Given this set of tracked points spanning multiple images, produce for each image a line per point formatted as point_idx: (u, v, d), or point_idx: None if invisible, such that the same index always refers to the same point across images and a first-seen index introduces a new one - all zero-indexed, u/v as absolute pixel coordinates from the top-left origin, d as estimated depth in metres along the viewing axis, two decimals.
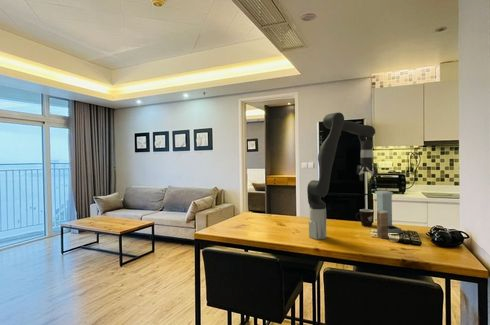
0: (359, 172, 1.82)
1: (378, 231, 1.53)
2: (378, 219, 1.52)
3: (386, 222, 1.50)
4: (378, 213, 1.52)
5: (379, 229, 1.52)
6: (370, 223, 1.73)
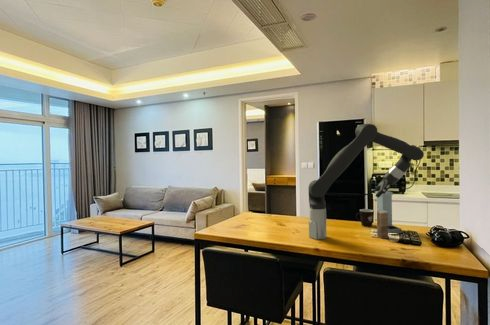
0: None
1: (378, 231, 1.53)
2: (378, 219, 1.52)
3: (386, 222, 1.50)
4: (378, 213, 1.52)
5: (379, 229, 1.52)
6: (370, 223, 1.73)
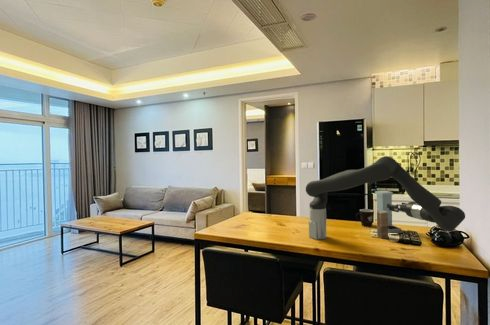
0: None
1: (378, 231, 1.53)
2: (378, 219, 1.52)
3: (386, 222, 1.50)
4: (378, 213, 1.52)
5: (379, 229, 1.52)
6: (370, 223, 1.73)
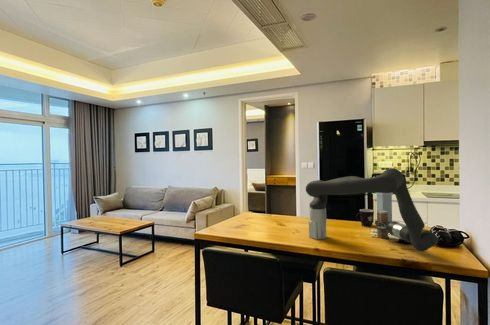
0: None
1: (378, 231, 1.53)
2: (378, 219, 1.52)
3: (386, 222, 1.50)
4: (378, 213, 1.52)
5: None
6: (370, 223, 1.73)
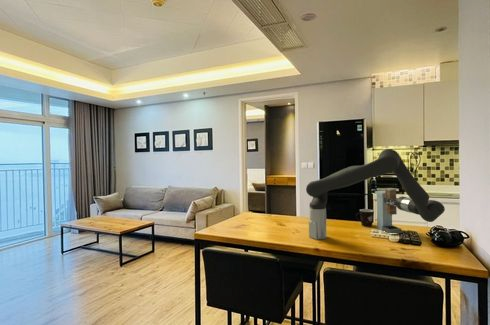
0: None
1: (387, 208, 1.58)
2: (387, 196, 1.57)
3: None
4: (387, 190, 1.57)
5: (387, 205, 1.57)
6: (370, 223, 1.73)
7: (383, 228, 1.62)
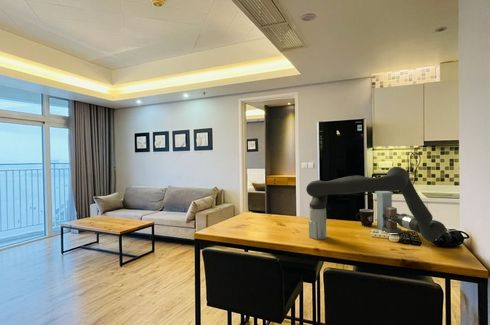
0: None
1: (387, 227, 1.60)
2: None
3: None
4: (388, 209, 1.59)
5: (388, 224, 1.60)
6: (370, 223, 1.73)
7: (383, 228, 1.62)
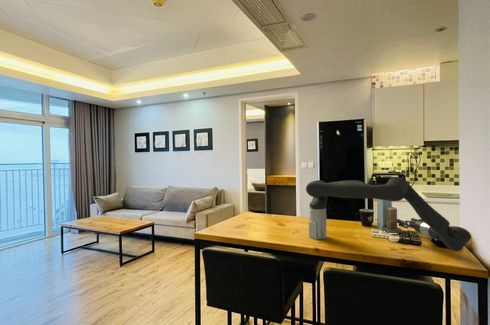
0: None
1: (387, 227, 1.60)
2: (387, 215, 1.60)
3: (395, 218, 1.58)
4: (388, 209, 1.59)
5: (388, 224, 1.59)
6: (370, 223, 1.73)
7: (383, 228, 1.62)
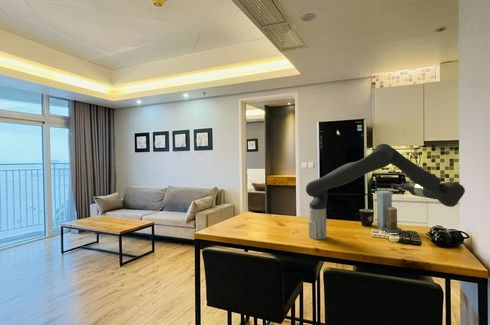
0: None
1: (387, 227, 1.60)
2: (387, 215, 1.60)
3: (395, 218, 1.58)
4: (388, 209, 1.59)
5: (388, 224, 1.59)
6: (370, 223, 1.73)
7: (383, 228, 1.62)
